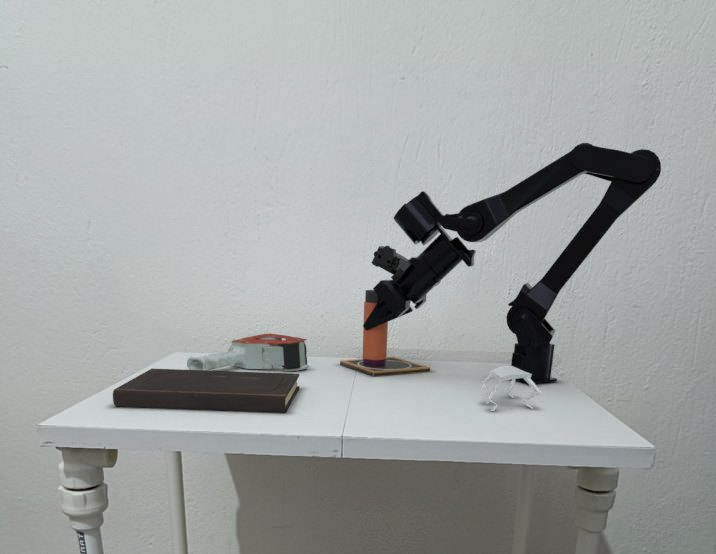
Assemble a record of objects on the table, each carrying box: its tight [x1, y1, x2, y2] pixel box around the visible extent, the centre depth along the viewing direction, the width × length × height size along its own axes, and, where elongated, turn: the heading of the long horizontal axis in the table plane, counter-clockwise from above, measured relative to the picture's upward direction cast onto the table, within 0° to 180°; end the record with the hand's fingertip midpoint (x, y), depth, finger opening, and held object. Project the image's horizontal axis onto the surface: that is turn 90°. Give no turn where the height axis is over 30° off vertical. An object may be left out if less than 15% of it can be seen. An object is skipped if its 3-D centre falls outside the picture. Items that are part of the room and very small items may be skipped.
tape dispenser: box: [186, 333, 310, 373], centre depth 117 cm, size 18×5×20 cm
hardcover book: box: [112, 368, 300, 414], centre depth 95 cm, size 16×23×2 cm
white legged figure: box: [481, 365, 543, 412], centre depth 96 cm, size 12×8×5 cm
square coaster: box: [339, 356, 431, 377], centre depth 121 cm, size 12×12×1 cm
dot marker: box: [362, 289, 389, 365], centre depth 120 cm, size 4×4×13 cm
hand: (368, 326), depth 120 cm, fingers closed on dot marker, 4 cm apart
